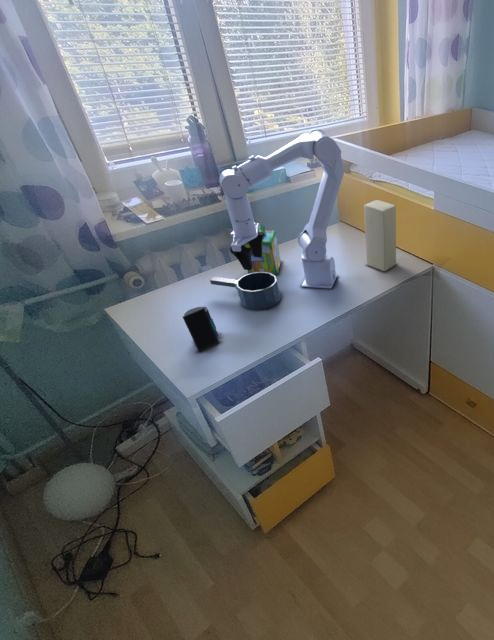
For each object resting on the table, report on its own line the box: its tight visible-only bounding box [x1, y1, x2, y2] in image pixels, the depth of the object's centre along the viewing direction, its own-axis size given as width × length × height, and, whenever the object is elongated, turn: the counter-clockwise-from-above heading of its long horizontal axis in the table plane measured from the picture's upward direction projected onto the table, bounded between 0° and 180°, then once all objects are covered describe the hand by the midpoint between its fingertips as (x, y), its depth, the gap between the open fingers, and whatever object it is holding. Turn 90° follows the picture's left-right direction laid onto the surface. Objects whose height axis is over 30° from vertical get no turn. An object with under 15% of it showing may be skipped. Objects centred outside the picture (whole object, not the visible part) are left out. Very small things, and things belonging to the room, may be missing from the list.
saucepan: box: [209, 272, 281, 311], centre depth 126 cm, size 20×11×6 cm, turn 80°
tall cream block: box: [363, 199, 397, 272], centre depth 141 cm, size 8×7×21 cm
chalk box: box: [244, 224, 282, 276], centre depth 137 cm, size 9×9×15 cm
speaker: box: [182, 306, 220, 353], centre depth 109 cm, size 8×6×10 cm
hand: (253, 262), depth 124 cm, fingers open, 7 cm apart
